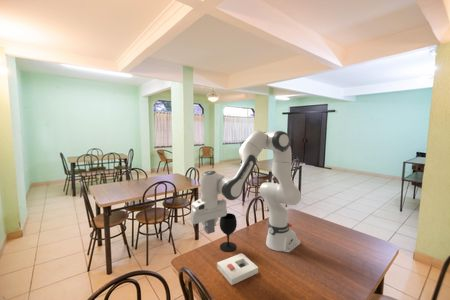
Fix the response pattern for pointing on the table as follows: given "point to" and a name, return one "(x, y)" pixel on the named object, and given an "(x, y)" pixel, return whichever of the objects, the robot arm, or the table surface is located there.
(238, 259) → the socket plate
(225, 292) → the table surface
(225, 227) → the wine glass
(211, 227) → the plug
